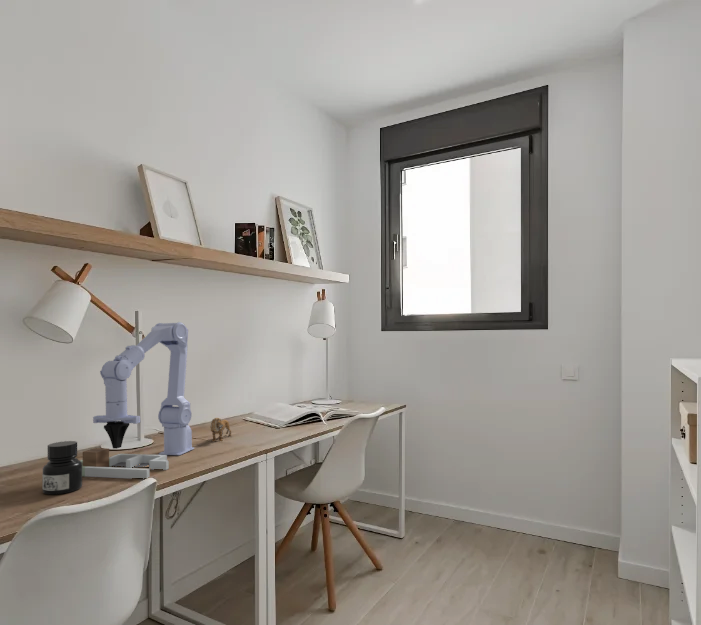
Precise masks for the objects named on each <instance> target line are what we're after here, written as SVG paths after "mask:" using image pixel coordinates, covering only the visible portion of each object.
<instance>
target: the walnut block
mask: <svg viewBox="0 0 701 625" xmlns="http://www.w3.org/2000/svg"><path fill="white" fill-rule="evenodd" d="M109 457H110V448H105V447H95V448H90V449H88V450H84V451H82V460H83V466H89V467H109Z"/></svg>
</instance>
